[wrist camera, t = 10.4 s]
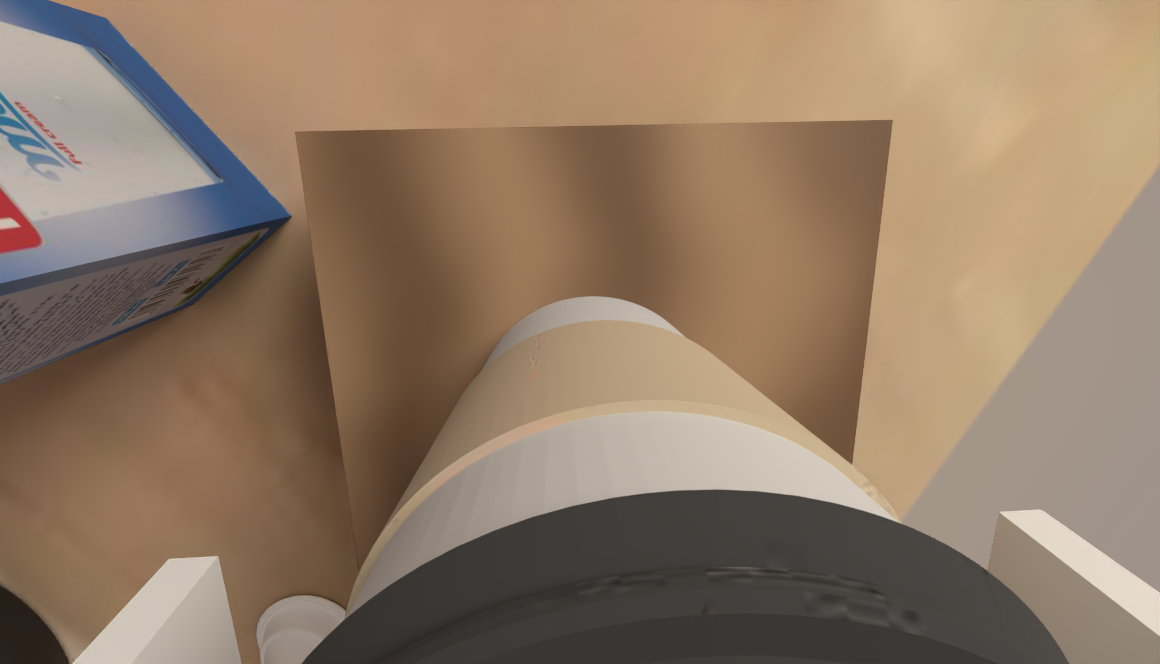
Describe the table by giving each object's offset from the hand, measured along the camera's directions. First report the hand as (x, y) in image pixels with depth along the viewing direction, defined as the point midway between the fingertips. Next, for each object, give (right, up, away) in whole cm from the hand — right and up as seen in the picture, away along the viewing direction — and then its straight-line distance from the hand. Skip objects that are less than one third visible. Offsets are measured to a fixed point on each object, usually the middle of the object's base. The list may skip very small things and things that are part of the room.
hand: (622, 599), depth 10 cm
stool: (0, +5, +18) cm, 18 cm away
